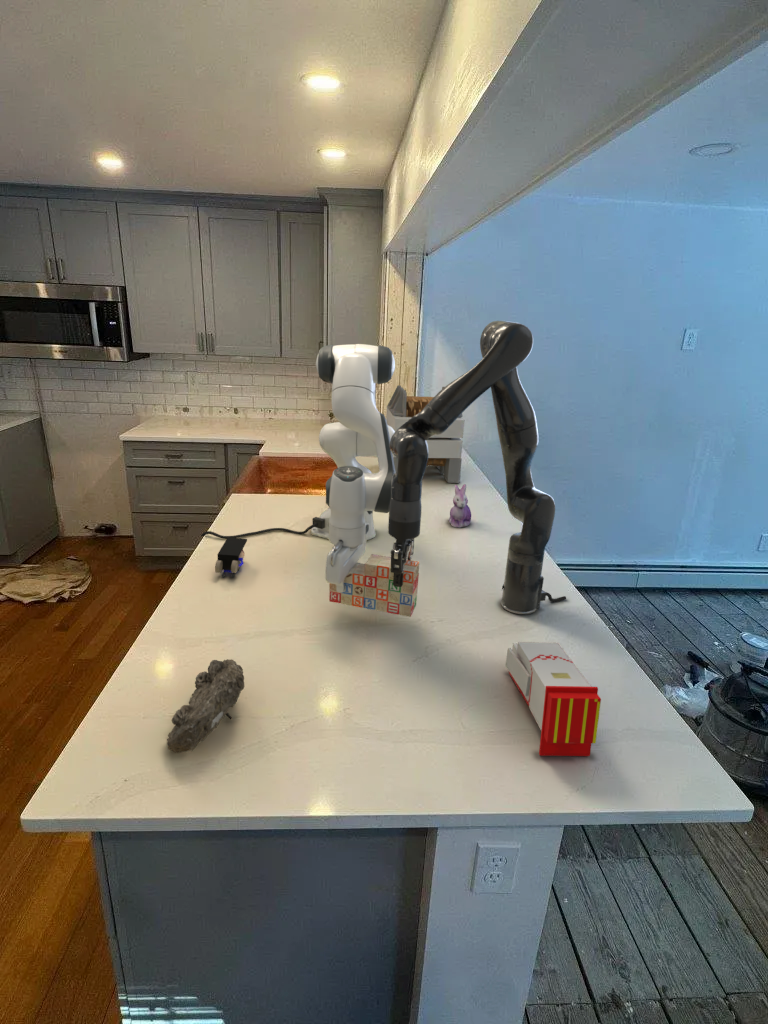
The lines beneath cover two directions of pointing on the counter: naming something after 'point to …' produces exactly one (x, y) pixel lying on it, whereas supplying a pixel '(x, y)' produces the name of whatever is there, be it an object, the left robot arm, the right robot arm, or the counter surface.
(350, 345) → the left robot arm
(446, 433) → the grey storage crate
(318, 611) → the counter surface
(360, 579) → the stack of blocks
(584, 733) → the toy
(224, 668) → the fossil
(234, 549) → the black wheeled block
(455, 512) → the figurine
